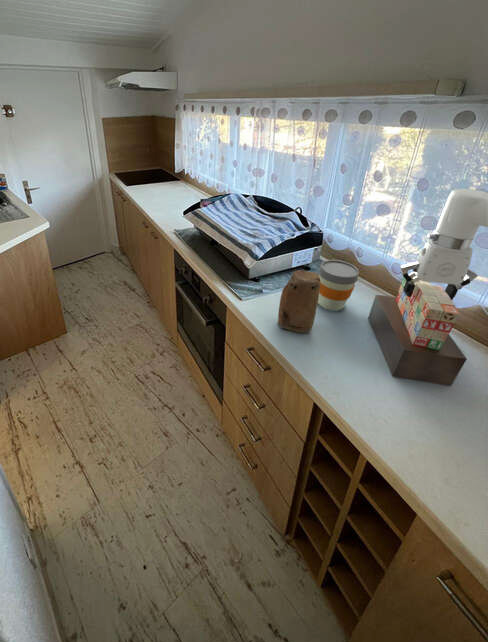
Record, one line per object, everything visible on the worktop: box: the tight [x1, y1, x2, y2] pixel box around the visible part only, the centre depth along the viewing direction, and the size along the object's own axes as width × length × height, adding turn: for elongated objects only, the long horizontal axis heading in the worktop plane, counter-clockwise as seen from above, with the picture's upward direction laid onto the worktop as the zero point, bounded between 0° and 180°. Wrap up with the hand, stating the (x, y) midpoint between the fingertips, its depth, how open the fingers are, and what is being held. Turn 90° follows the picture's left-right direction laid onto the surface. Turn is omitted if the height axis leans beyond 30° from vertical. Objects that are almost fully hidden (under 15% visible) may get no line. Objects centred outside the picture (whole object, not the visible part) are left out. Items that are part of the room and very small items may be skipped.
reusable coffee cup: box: [318, 259, 359, 312], centre depth 109 cm, size 13×13×15 cm
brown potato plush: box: [277, 269, 320, 334], centre depth 97 cm, size 11×8×20 cm
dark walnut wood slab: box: [367, 294, 468, 387], centre depth 90 cm, size 14×25×10 cm, turn 167°
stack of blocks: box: [395, 276, 461, 350], centre depth 85 cm, size 21×6×12 cm, turn 160°
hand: (426, 296), depth 84 cm, fingers open, 9 cm apart
